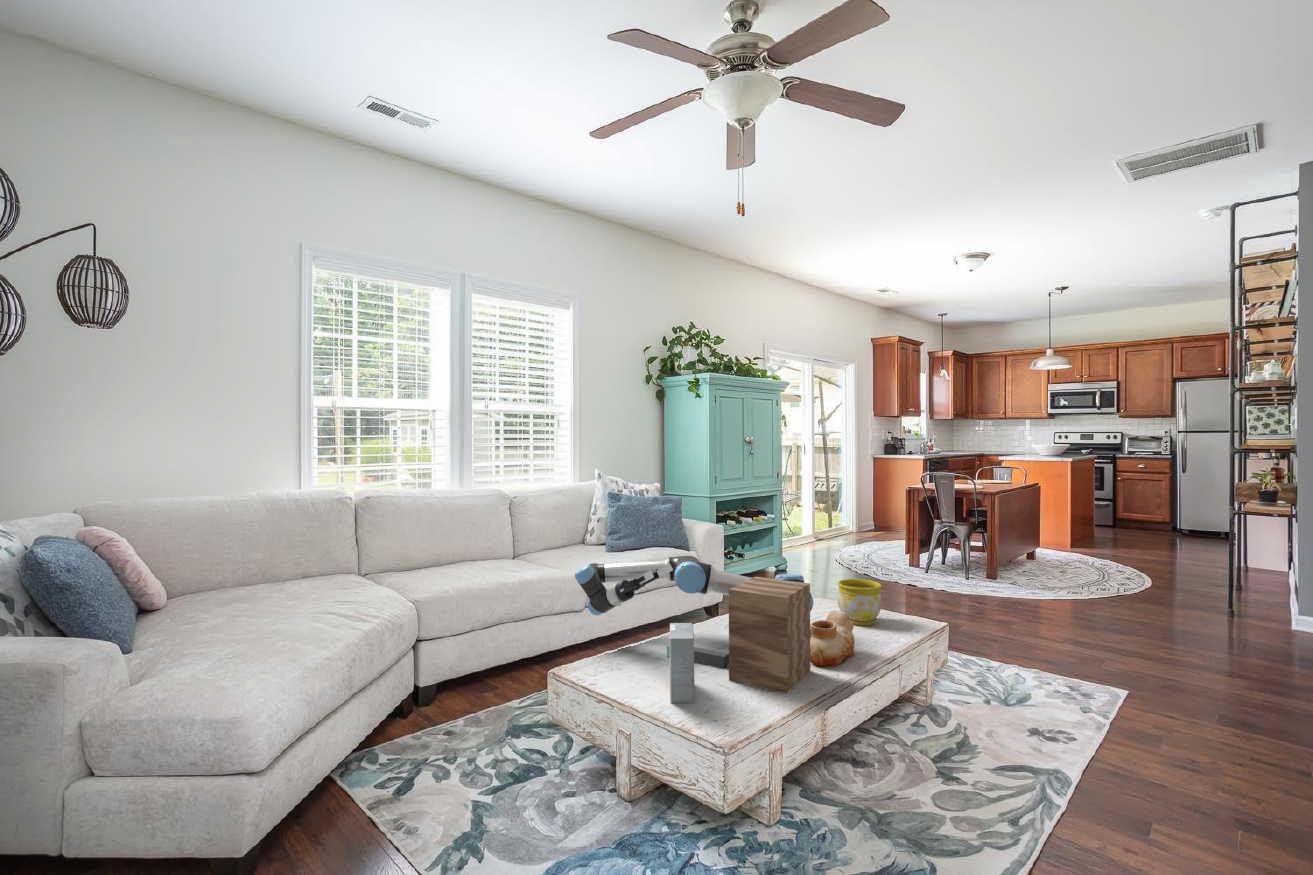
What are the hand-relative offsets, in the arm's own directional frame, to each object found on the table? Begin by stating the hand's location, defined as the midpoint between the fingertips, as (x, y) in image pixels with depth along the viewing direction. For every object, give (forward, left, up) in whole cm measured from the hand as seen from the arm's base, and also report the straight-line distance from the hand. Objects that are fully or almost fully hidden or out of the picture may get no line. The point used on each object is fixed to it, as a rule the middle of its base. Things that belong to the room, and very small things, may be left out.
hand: (661, 570), depth 240 cm
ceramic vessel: (-29, +54, -31) cm, 69 cm away
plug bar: (0, +15, -31) cm, 34 cm away
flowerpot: (-78, +51, -31) cm, 99 cm away
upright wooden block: (0, +42, -31) cm, 52 cm away
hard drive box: (+28, +24, -31) cm, 48 cm away
